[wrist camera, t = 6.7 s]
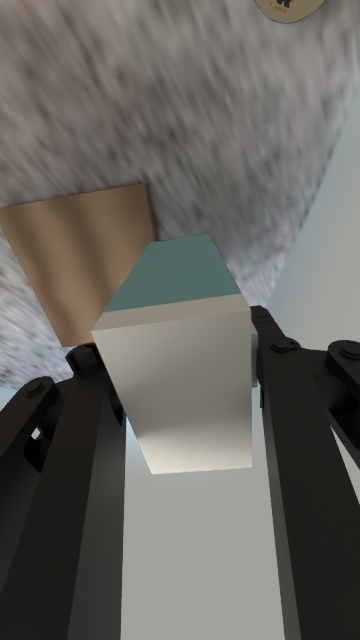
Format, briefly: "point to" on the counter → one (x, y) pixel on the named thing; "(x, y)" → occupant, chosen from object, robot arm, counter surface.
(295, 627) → the robot arm
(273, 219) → the counter surface
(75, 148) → the counter surface
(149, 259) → the block
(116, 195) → the board
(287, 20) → the white-capped cylinder
